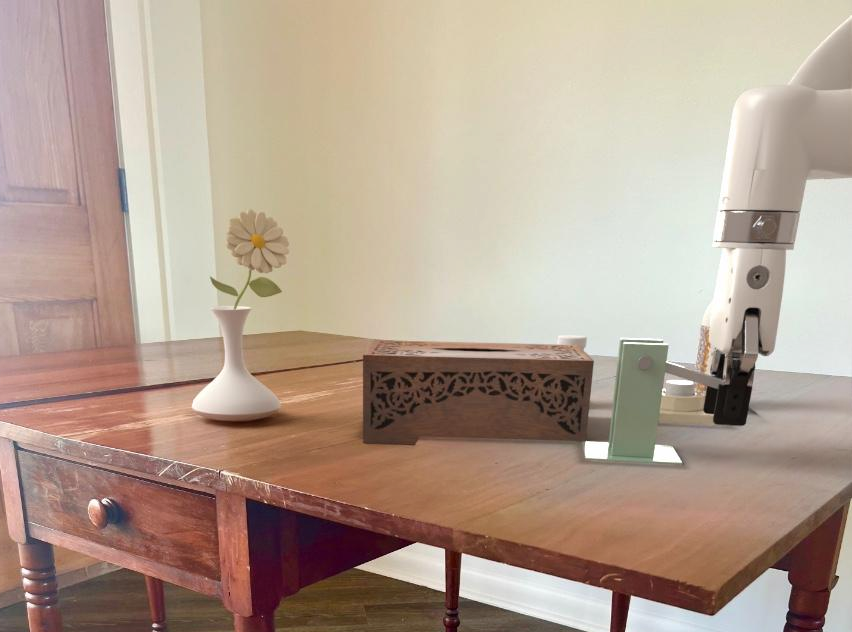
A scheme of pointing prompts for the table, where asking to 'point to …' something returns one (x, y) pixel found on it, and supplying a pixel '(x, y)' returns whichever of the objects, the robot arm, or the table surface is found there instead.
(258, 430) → the table surface
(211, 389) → the flower in vase
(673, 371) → the flush lever
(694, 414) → the cream pedestal base
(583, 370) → the tissue box cover
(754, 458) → the table surface
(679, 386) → the flush button
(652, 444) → the lever bracket
